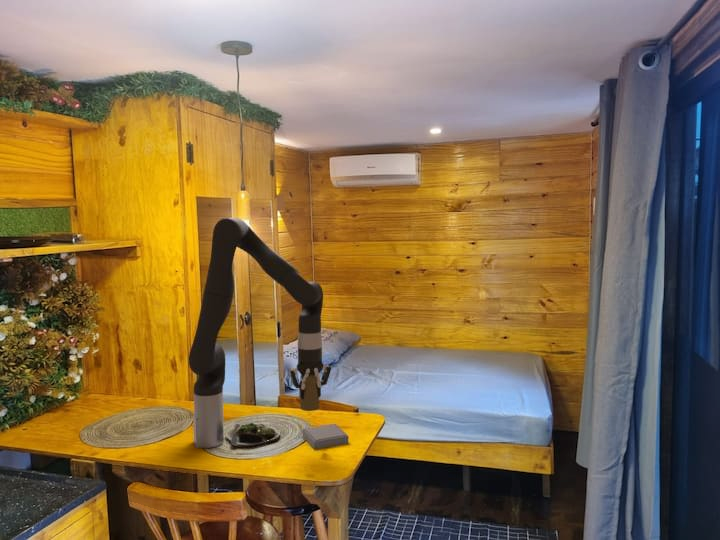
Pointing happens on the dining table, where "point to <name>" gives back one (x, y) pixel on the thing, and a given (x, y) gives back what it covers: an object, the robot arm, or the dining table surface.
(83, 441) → the dining table surface
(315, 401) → the brown pepper mill
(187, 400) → the dining table surface
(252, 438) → the salad plate
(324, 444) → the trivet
